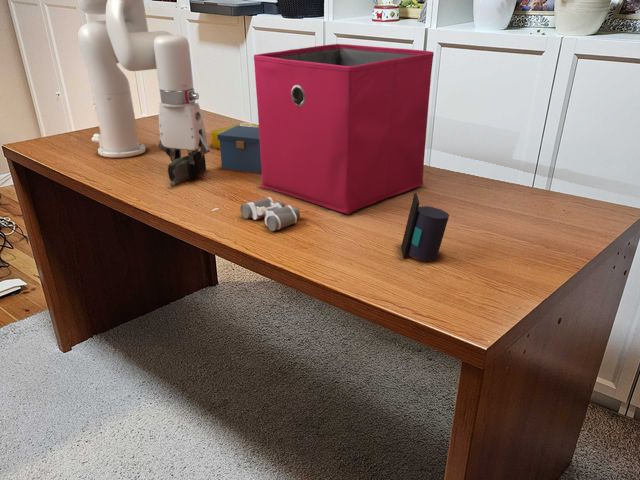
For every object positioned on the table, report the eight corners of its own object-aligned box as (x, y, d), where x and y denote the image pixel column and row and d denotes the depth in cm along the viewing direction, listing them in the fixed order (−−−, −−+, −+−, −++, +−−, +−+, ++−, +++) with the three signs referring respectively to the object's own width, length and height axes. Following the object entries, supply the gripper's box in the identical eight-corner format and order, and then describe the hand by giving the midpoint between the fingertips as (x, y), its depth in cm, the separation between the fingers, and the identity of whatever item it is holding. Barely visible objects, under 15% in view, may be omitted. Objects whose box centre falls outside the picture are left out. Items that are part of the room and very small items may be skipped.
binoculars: (240, 216, 122) (239, 199, 120) (271, 207, 127) (270, 191, 125) (276, 233, 115) (275, 216, 113) (307, 223, 119) (307, 206, 117)
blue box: (219, 169, 150) (216, 135, 145) (239, 158, 159) (236, 125, 154) (264, 174, 146) (263, 139, 142) (282, 163, 155) (281, 129, 150)
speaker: (392, 257, 105) (403, 200, 100) (401, 246, 110) (412, 191, 104) (433, 268, 103) (447, 211, 98) (441, 257, 108) (454, 202, 102)
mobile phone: (196, 149, 148) (161, 164, 136) (207, 151, 147) (172, 165, 135) (198, 170, 150) (164, 185, 138) (208, 171, 149) (174, 187, 137)
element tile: (208, 146, 168) (207, 129, 166) (247, 137, 178) (246, 120, 175) (245, 156, 160) (244, 138, 157) (283, 145, 170) (283, 128, 167)
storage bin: (255, 188, 138) (247, 52, 122) (336, 162, 155) (338, 41, 140) (346, 218, 122) (350, 66, 106) (425, 186, 139) (439, 51, 124)
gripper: (217, 96, 134) (224, 177, 144) (156, 91, 139) (166, 170, 149) (201, 102, 128) (209, 186, 138) (137, 97, 133) (149, 178, 143)
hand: (187, 177), depth 144 cm, fingers closed on mobile phone, 3 cm apart
